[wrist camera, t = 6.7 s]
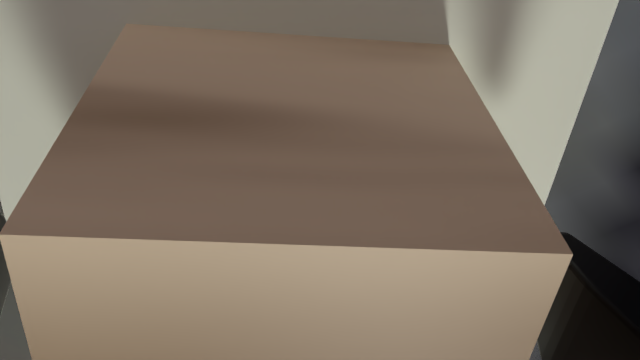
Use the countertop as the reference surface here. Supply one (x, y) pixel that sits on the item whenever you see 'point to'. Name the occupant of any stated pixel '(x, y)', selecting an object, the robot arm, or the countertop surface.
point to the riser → (312, 20)
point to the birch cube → (281, 209)
